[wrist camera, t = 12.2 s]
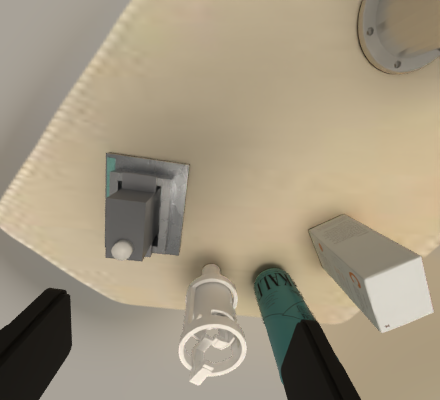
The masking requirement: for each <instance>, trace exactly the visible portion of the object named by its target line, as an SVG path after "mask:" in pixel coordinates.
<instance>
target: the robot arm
mask: <svg viewBox="0 0 440 400" xmlns="http://www.w3.org/2000/svg"><path fill="white" fill-rule="evenodd" d="M358 33H359V39H360V44H361V47H362V49H363V52H364V54H365V56H366V57H367V58H368V60H369V61H370V62H371V63H372V64H373V65H374V66H375V67H376V68H378V69H380V70H381V71H383V72H387V73H391V74H403V73H409V72H412V71H415V70H418V69H421V68H422V67H424V66H426V65H428V64H430V63H431V62H432V61H434V60H435V59H437V58H438V57H439V56H440V0H363V1H362V5H361V8H360V12H359V21H358ZM71 346H72V334H71V306H70V295H69V294H67V292H66V290H62V289H54V288H48V289H46V290H45V291H44V292H43V293H42V294H41V295H40V296H38V298H36V299H35V300H34V301H33V302H32V303H31V304H30V305H29V306H28V307H27V308H26V309H25V310H24V311H22V312H21V313H20V314H19V315H18V316H17V317H16V318H15V319H14V320H13V321H12V322H11V323H10V324H9V325H6V326H5V327H4V328H2V329H1V330H0V400H39V399H40V397H41V396H42V394H43V393H44V391H45V390H46V388H47V387H48V385H49V384H50V382H51V380H52V379H53V377H54V376H55V374H56V373H57V371H58V370H59V368H60V367H61V365H62V364H63V362H64V361H65V359H66V358H67V356H68V354H69V352H70V350H71ZM281 377H282V381H283V384H284V388H285V392H286V395H287V399H288V400H361V399H360V397H359V395H358V393H357V391H356V390H355V388H354V386H353V384H352V382H351V381H350V378H349V377H348V375H347V373H346V371H345V369H344V367H343V366H342V364H341V363H340V362H339V360H338V358H337V357H336V355H335V353H334V351H333V350H332V347H331V345H330V344H329V342H328V340H327V338H326V336H325V334H324V333H323V331H322V329H321V327H320V325H319V323H318V322H317V321H314V320H306V319H302V320H301V321H300V323H299V322H298V323H297V324H296V327H295V330H294V333H293V335H292V338H291V341H290V344H289V346H288V349H287V352H286V355H285V358H284V360H283V363H282V366H281Z"/></svg>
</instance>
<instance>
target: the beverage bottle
mask: <svg viewBox="0 0 440 400" xmlns="http://www.w3.org/2000/svg"><path fill="white" fill-rule="evenodd" d="M296 286H297V285H296V284H295V283H294V281H292V279H291V277H290V276H289V275H288V274H287V273H286V272H285V271H283V270H281V269H278V268H271V269H267V270H265V271H263V272H261V273H260V274H259V275H258V276H257V278H256V280H255V283H254V291H255V293H256V298H257V300H256V301H258V303H257V304H258V305H259V307H260V312H261V314H262V315H261V316H262V317H263V321H264V324H265V326H266V329H267V333H268V336H269V340H270V343H271V346H272V349H273V353H274V356H275V360H276V363H277V367H278V370H279V374H280V379H281V382H282V383H283V381H282V377H281V366H282V363H283V360H284V358H285V355H286V352H287V349H288V346H289V344H290V341H291V338H292V335H293V333H294V330H295V327H296V324H297V323H298V322H299V323H300V321H301V320H302V319H306V320H314V321H317V320H316V319H315V318H314V316H313V315H312V314H313V313H311V312H310V310H309V308H308V307H307V305H306V303H305V301H304V300H303V298H304V297H303V296H301V295H302V294H300V293H301V292H300V293H299V291H298V289H297V288H296ZM302 297H303V298H302ZM320 327H321V326H320ZM321 329H322V328H321ZM322 331H323V330H322ZM336 357H337V356H336ZM338 360H339V359H338ZM283 385H284V384H283Z"/></svg>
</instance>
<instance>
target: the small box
mask: <svg viewBox="0 0 440 400" xmlns="http://www.w3.org/2000/svg"><path fill="white" fill-rule="evenodd" d="M309 233H310V236H311V239H312V241H313V244H314V246H315V249H316V252H317V254H318V257H319V259H320V262H321V264H322V267H323V269H324V270H325V271H326V272H327V273H328V274H329V275H330V276H331V277H332V278H333V279H334V281H335V282H336V283H337V284H338V285H339V286H340V287H341V288H342V289H343V291H344V292H345V293H346V294H347V295H348V296H349V298H350V299H351V300H352V301H353V302H354V303H355V304H356V305H357V307H358V308H359V309H360V310H361V311H362V312H363V313H364V314H365V316H366V317H367V318H368V319H369V320H370V321H371V322H372V323H373V325H374V326H375V327H376V328H377V329H378V330H379V331H380V332H381V333H383V332H386V331H389V330H392V329H394V328H397V327H399V326H402V325H404V324H407V323H409V322H412V321H414V320H417V319H419V318H422V317H424V316H426V315H428V314H431V313H433V312H434V310H433V305H432V301H431V296H430V292H429V288H428V283H427V279H426V275H425V270H424V266H423V261H422V256H420V255H418V254H416V253H415V252H413V251H411V250H409V249H407V248H405V247H404V246H402V245H400V244H398V243H396V242H395V241H393V240H391V239H389V238H387V237H385V236H384V235H382V234H380V233H378V232H376V231H374V230H373V229H371V228H369V227H367V226H365V225H363V224H362V223H360V222H358V221H356V220H354V219H353V218H351V217H349V216H347V215H345V214H343V215H341V216H338V217H336V218H334V219H332V220H330V221H327V222H325V223H323V224H320V225H318V226H316V227H314V228H312V229H310V230H309Z"/></svg>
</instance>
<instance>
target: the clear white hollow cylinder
mask: <svg viewBox="0 0 440 400" xmlns="http://www.w3.org/2000/svg"><path fill="white" fill-rule="evenodd" d="M231 291H232V293H233V299H232V295H231ZM237 301H238V298H237V292H236V288H235V286H234V284H233V283H232V281H231V280H229V279H228V278H227V277H225V276H223V275H221V273H220V268H219V267H218V266H217V265H215V264H207V265H206V266H204V267H203V269H202V276H200V277H198V278H196V279H195V280H193V281H192V282H191V284H190V285H189V287H188V289H187V293H186V309H185V316H184V324H183V332H182V334H181V338H180V344H179V357H180V360H181V362H182V363H183V365H184V366H185V367H186V368H187V369H189V370H190V382H191V383H194V384H196V385H200V384H201V383H202V382H203V380H204V379H205V378H206V377H207V376H219V375H223V374H226V373H228V372H231V371H232V370H234V369H235V368H237V367H238V366H239V365H240V364H241V363H242V361H243V360H244V358H245V355H246V349H247V348H246V341H245V336H244V332H243V330H242V328H241V327H240V326H239V325H238V324H237V319H236V313H235V308H236V306H237ZM211 328H213V329H218V328H219V335H217V334H215V335H214V337H211V336H209V335H206V329H209V330H211ZM191 336H193V337H194V338H195V339H196V340H197V341H199V342H198V343H197V344H196V345H195V346H194V347H193V349H192V354H191V355H190V354H189V353H188V352H187V350H186V348H185V343H186V341H187V340H188V339H189V338H190V337H191ZM210 345H213V347H215V348H219V349H220V350H223V349H225V348H227V347H228V346H230V345H231V349H232V356H231V357H230V358H228V359H226V360H224V361H221V362H216V363H212V362H210V361H207V360H205V359H204V356H205V351H206V350H207V349H208V347H209V346H210Z"/></svg>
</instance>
